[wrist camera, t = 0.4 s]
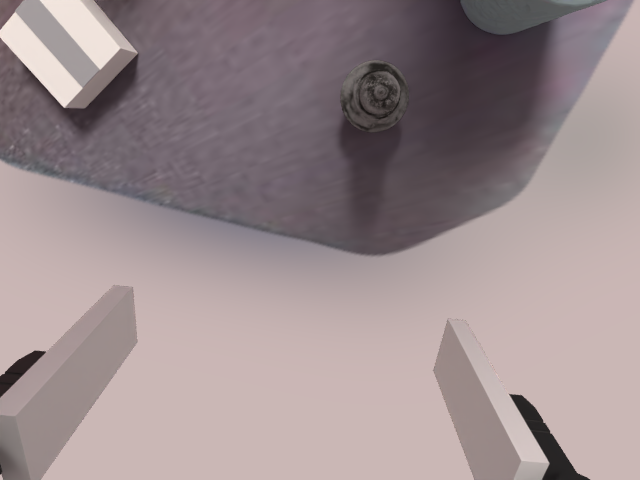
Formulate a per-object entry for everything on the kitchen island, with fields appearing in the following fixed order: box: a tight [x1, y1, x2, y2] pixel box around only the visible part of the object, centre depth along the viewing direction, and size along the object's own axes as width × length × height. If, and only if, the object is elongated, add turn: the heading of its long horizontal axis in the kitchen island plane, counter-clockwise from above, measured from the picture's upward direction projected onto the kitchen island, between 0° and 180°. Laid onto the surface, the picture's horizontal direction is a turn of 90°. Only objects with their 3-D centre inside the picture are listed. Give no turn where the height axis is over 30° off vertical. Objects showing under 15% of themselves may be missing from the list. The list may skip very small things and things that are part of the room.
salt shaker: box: [341, 60, 409, 132], centre depth 32 cm, size 6×6×12 cm
